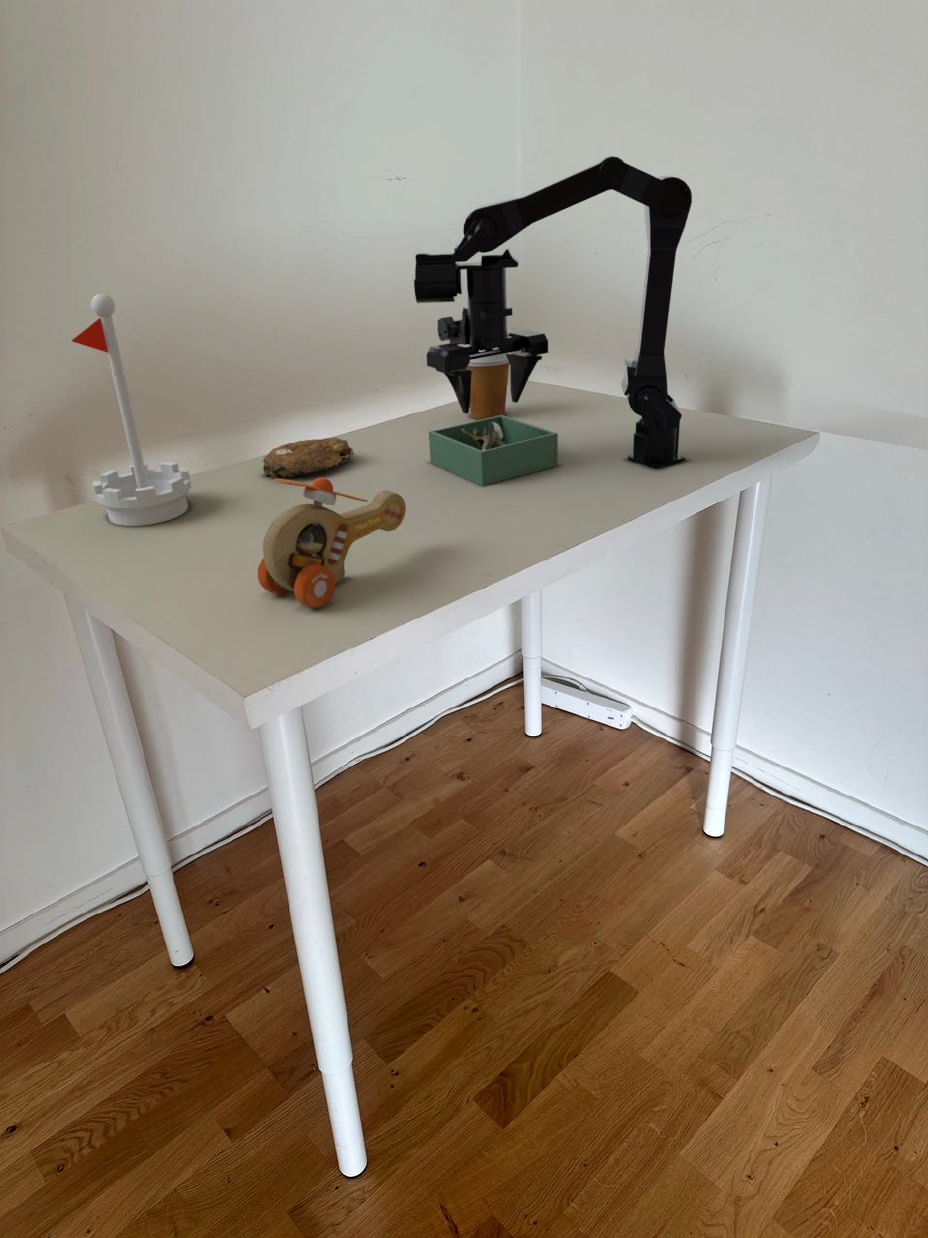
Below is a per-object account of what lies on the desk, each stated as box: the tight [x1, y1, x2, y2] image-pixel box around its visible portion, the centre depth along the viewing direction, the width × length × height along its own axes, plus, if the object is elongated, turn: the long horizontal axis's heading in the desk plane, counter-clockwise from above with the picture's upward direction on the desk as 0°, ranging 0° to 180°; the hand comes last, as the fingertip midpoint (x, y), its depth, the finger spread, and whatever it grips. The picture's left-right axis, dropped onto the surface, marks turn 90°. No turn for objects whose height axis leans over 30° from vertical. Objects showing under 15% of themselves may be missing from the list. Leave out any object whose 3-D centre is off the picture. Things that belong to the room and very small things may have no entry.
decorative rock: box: [262, 437, 356, 479], centre depth 146 cm, size 11×4×15 cm
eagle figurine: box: [462, 422, 508, 451], centre depth 142 cm, size 8×7×9 cm
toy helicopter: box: [257, 477, 407, 609], centre depth 105 cm, size 8×21×14 cm, turn 140°
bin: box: [428, 415, 559, 486], centre depth 142 cm, size 14×15×5 cm
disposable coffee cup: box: [466, 348, 510, 420], centre depth 167 cm, size 10×10×12 cm
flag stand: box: [71, 293, 192, 527], centre depth 124 cm, size 13×13×30 cm
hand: (490, 407), depth 139 cm, fingers open, 9 cm apart
